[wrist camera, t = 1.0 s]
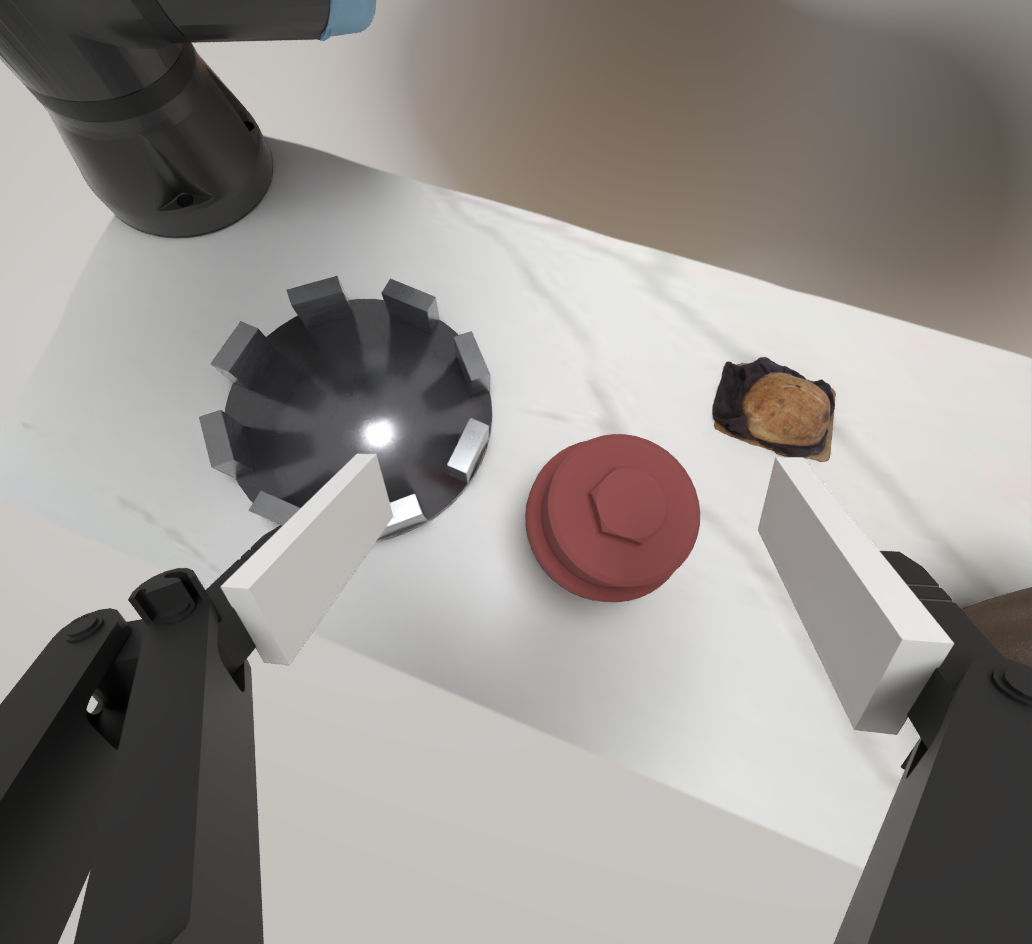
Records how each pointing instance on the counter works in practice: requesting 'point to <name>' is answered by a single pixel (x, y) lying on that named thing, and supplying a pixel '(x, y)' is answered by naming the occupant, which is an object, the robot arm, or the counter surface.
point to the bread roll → (775, 409)
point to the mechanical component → (612, 517)
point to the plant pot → (1006, 624)
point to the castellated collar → (352, 403)
